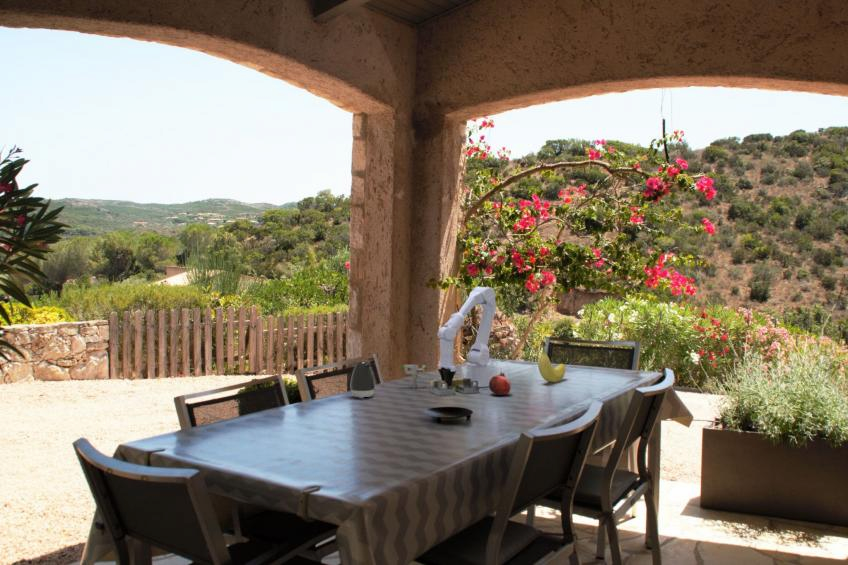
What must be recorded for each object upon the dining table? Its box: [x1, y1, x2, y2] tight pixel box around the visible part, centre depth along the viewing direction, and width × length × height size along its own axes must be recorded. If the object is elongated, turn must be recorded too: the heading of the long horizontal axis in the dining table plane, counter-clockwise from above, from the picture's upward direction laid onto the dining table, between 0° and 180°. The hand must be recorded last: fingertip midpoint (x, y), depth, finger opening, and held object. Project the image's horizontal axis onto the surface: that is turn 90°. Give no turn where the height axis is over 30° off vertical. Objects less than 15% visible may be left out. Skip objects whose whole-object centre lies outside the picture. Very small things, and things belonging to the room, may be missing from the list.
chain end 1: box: [430, 379, 456, 397], centre depth 300 cm, size 7×10×5 cm
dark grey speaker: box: [349, 359, 376, 399], centre depth 292 cm, size 10×10×15 cm
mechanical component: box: [402, 364, 427, 389], centre depth 313 cm, size 3×10×10 cm, turn 89°
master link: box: [430, 377, 463, 389], centre depth 310 cm, size 14×3×4 cm, turn 111°
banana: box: [537, 340, 567, 383], centre depth 325 cm, size 23×6×20 cm, turn 143°
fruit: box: [488, 371, 511, 396], centre depth 296 cm, size 9×10×10 cm
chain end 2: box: [455, 377, 480, 395], centre depth 303 cm, size 7×10×5 cm
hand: (446, 385), depth 310 cm, fingers closed on master link, 3 cm apart
